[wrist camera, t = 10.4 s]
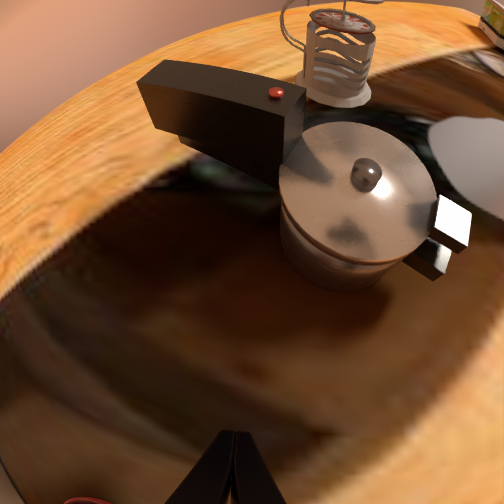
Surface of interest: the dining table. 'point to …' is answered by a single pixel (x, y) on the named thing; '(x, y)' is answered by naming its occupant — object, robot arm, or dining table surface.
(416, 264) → the pot
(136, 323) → the dining table surface
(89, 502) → the plant pot
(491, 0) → the tea box
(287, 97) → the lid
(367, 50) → the french press
